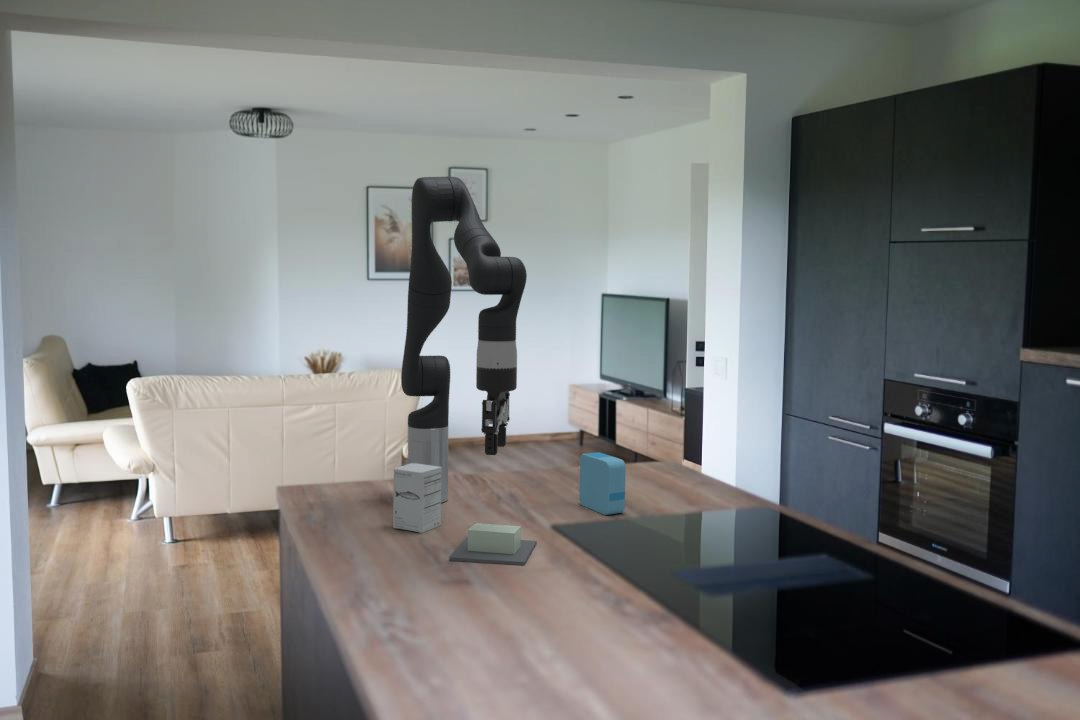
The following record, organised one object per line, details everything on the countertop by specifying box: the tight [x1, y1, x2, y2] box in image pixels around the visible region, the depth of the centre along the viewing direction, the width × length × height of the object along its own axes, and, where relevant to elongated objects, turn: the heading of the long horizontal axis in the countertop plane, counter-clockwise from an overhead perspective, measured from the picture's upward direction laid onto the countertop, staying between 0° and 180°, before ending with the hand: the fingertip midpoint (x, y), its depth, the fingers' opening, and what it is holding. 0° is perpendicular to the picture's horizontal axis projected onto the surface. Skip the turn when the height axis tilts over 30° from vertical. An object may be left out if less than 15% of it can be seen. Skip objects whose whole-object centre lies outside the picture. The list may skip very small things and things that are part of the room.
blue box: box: [578, 452, 627, 516], centre depth 220 cm, size 12×4×12 cm, turn 30°
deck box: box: [467, 522, 522, 554], centre depth 187 cm, size 5×9×4 cm, turn 78°
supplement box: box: [392, 463, 442, 534], centre depth 203 cm, size 7×7×13 cm
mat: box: [448, 536, 537, 566], centre depth 187 cm, size 14×14×1 cm
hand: (495, 450), depth 185 cm, fingers open, 8 cm apart
